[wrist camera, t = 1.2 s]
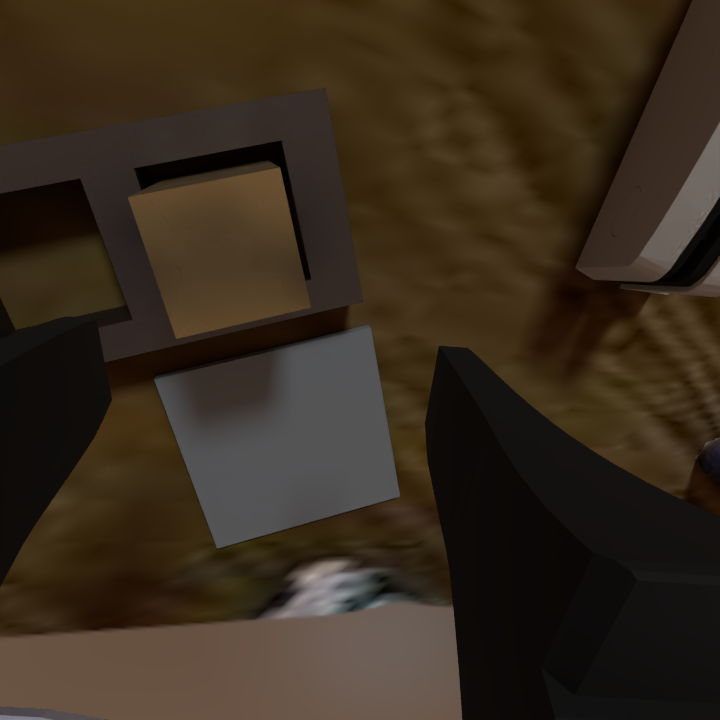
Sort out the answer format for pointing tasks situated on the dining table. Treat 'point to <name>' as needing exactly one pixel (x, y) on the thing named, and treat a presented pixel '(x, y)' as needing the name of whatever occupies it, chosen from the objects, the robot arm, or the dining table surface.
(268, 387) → the mat
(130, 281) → the double cubby frame
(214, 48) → the dining table surface
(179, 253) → the tan rectangular block
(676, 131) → the grey rounded block
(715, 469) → the flask
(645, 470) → the dining table surface
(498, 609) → the robot arm
